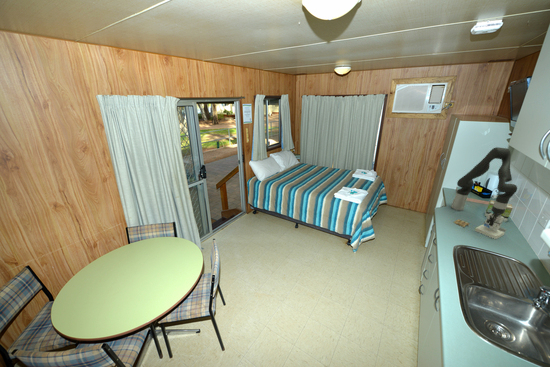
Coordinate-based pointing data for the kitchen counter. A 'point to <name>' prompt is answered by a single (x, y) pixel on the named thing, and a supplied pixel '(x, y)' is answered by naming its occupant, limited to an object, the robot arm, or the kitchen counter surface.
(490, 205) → the tea box
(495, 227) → the ink box
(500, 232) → the dock
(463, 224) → the pallet
